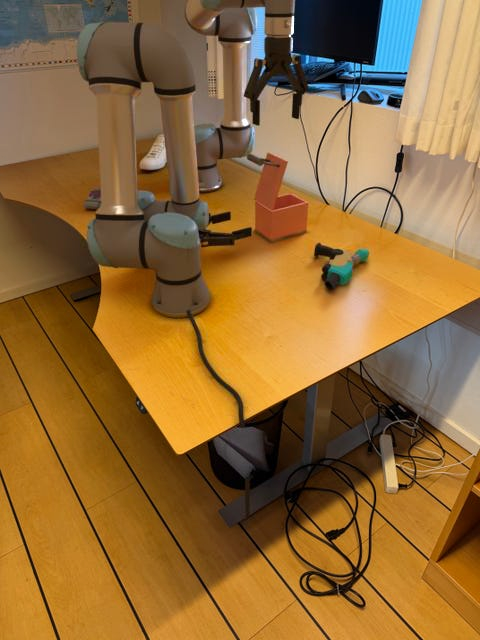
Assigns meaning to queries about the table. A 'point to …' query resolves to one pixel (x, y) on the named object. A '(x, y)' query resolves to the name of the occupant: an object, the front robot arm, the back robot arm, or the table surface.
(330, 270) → the toy gun
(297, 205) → the chest
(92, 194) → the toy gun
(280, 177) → the lid
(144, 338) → the table surface
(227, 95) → the back robot arm
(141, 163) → the sneaker
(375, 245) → the table surface
